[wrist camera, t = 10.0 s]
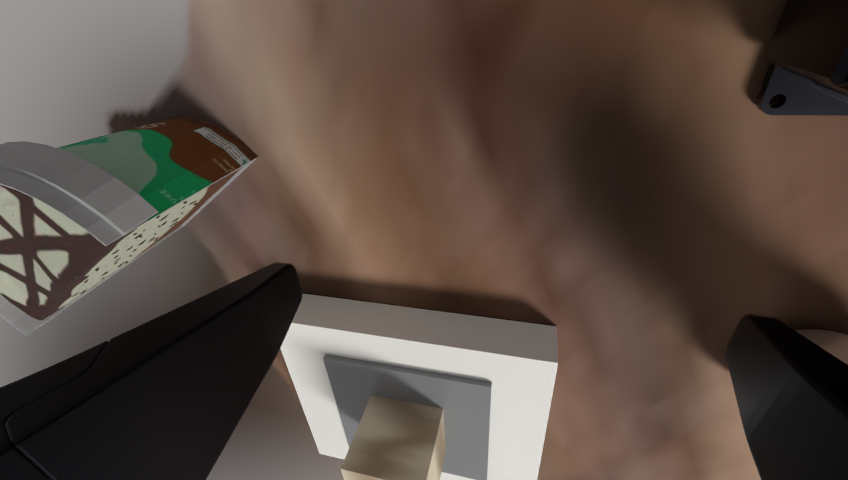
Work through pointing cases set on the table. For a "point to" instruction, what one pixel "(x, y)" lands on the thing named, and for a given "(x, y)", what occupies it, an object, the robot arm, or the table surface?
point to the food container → (101, 207)
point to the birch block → (397, 442)
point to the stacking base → (427, 379)
